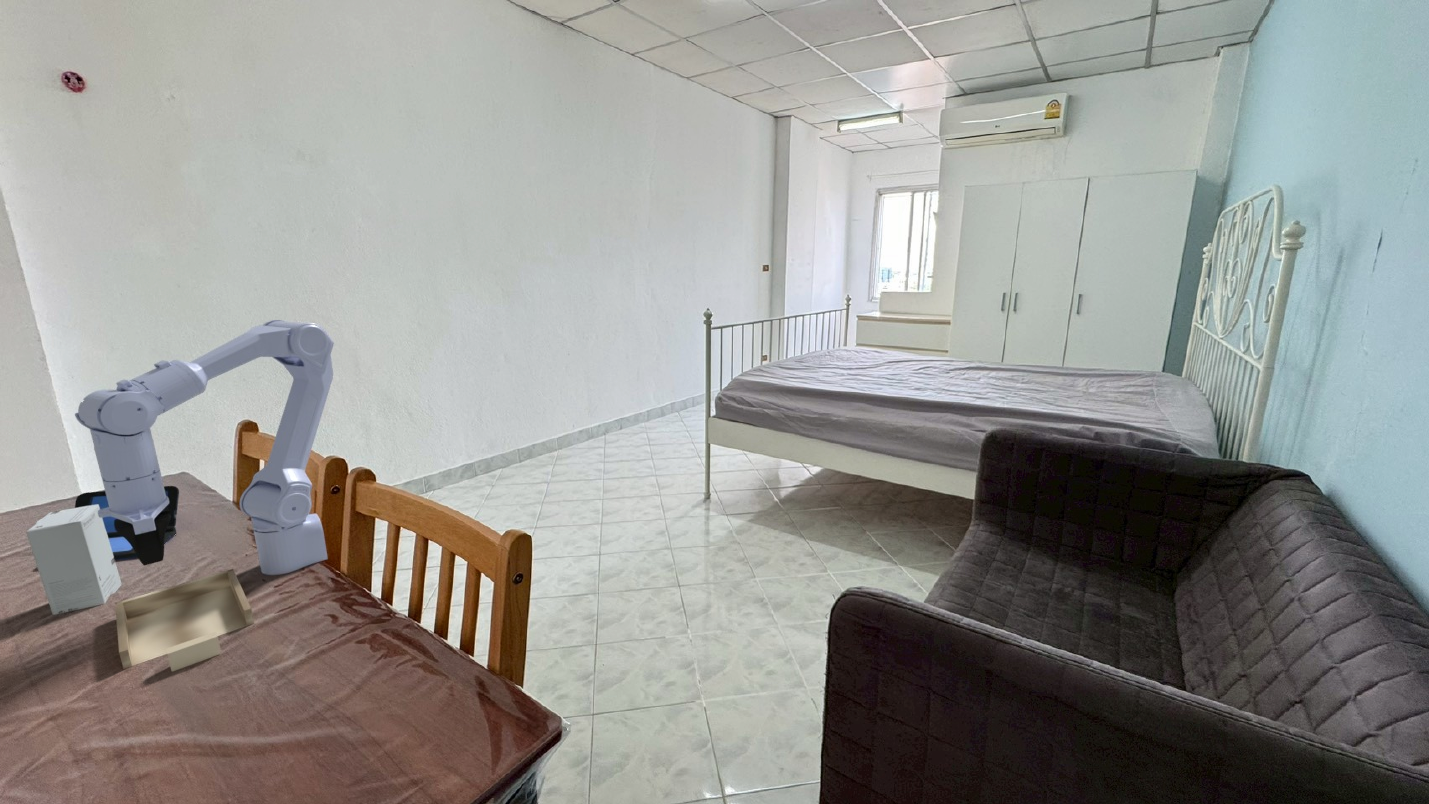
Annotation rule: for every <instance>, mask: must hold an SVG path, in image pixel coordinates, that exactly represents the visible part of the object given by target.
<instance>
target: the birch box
mask: <svg viewBox="0 0 1429 804" xmlns="http://www.w3.org/2000/svg"><path fill="white" fill-rule="evenodd" d="M114 607H115V620H116V631H117V641H118V643H117V645H118V654H119V657H120V661H121V664H122V669H123V670H125V669H128V668H131V667H134V666H136V665H139V664H143V663H145V662H146V663H147V662H148V661H151V660H154V659H157V658H160V657H162V656H165V655H167V650H166V649H167V648H170V647H173V646H175V645H178V644H181V643H184V642H187V641H190V640H193V639H196V638H199V637H202V636H204V635H207V634H210V633H213V632H216V633H217V636H218V637H219V636H223V635H225V634H229V633H230V632H231V633H232V632H234V631H237V630H239V629H242V628H246V627H248V626H251V625H254V624H255V621H254V617H253V616H254V615H253V611H252V608H251V605H250V603H249V601H248V598H247V596H246V594H245V592H244V590H243V588H242V585H241V583H240V581H239V578H238V576H237V574H236V572H235V570H234V568H231V569H227V570H224V571H221V572H216V573H213V574H210V575H206V576H203V577H200V578H197V579H193V580H189V581H186V582H182V583H180V584H176V585H172V586H168V587H165V588H162V589H157V590H155V591H151V592H149V593H145V594H141V595H138V596H133V597H130V598H127V599H123V600H120V601H117V602H114Z"/></svg>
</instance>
